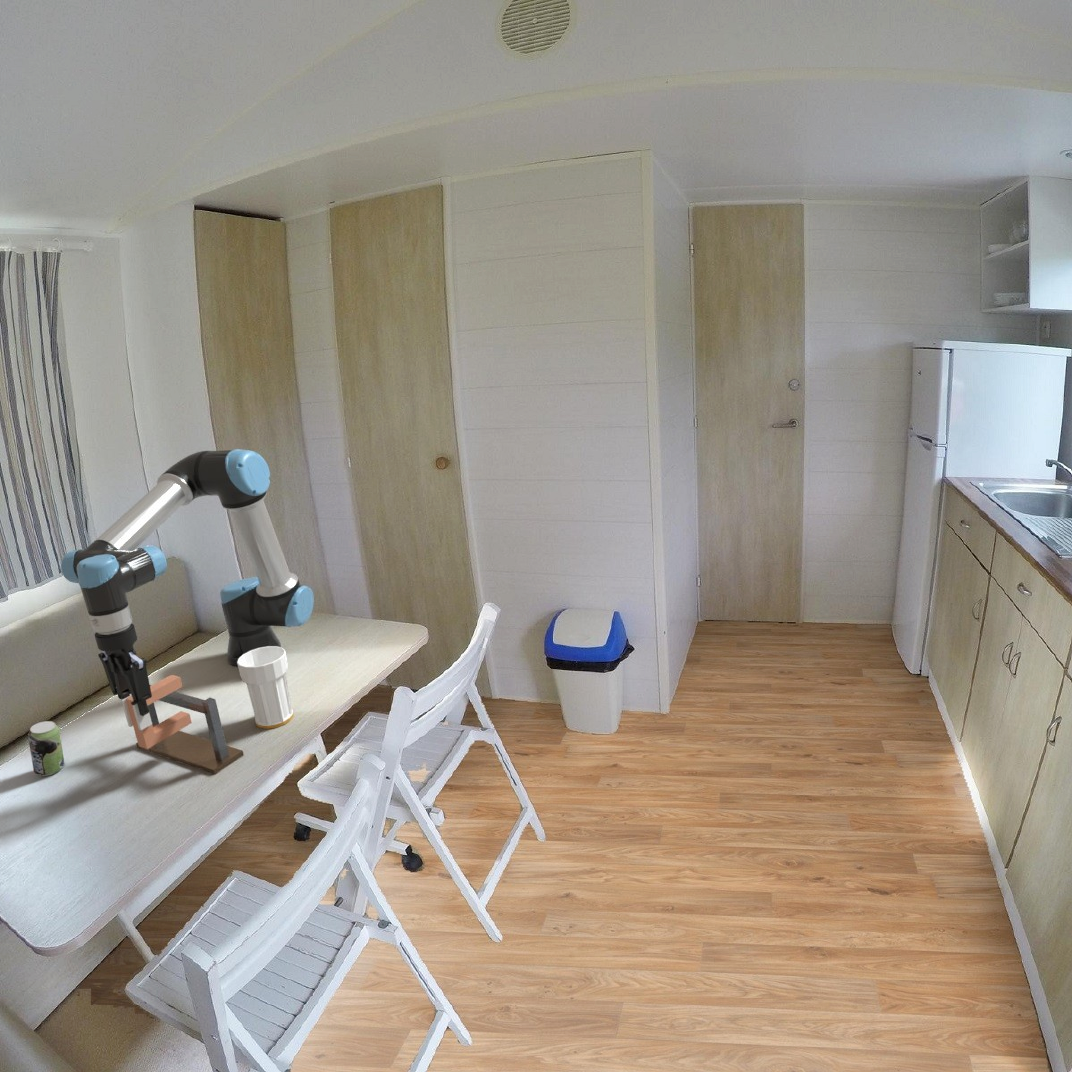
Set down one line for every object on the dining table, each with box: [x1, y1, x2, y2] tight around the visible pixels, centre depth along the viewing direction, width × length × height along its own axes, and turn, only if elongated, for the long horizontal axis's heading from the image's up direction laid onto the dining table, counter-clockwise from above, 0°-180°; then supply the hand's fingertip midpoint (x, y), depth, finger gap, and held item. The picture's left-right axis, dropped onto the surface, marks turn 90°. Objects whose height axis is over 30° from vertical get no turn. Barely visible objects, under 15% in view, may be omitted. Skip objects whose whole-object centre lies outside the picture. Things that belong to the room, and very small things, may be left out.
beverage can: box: [27, 720, 65, 777], centre depth 176 cm, size 6×7×12 cm
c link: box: [126, 674, 192, 749], centre depth 173 cm, size 3×12×12 cm, turn 151°
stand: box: [135, 684, 244, 775], centre depth 178 cm, size 28×8×16 cm, turn 61°
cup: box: [237, 646, 294, 730], centre depth 189 cm, size 11×11×17 cm
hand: (140, 725), depth 169 cm, fingers closed on c link, 3 cm apart
